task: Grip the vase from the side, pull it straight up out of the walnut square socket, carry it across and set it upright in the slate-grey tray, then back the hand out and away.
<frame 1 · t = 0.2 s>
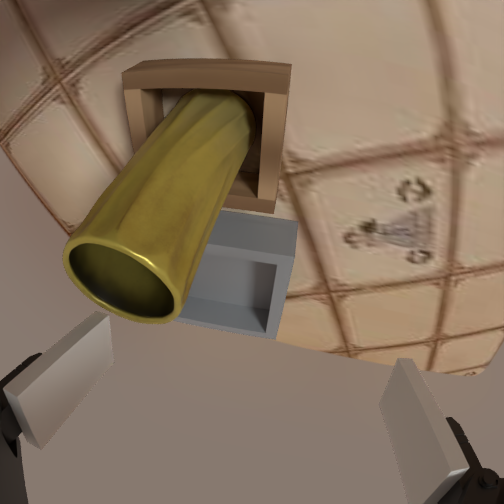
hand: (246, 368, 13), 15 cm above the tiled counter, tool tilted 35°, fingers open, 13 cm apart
socket: (213, 124, 21), on the tiled counter
vase: (214, 123, 21), resting in socket, touching gripper
tray: (219, 262, 32), on the tiled counter
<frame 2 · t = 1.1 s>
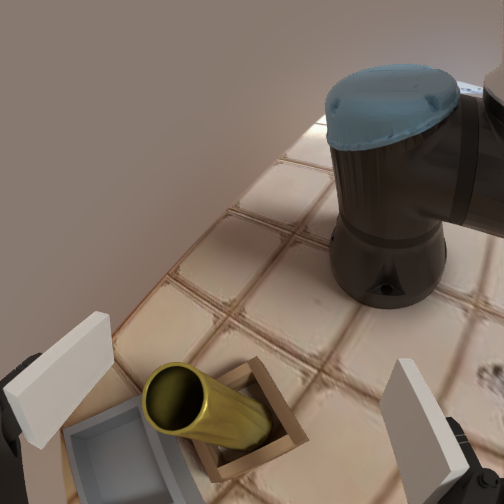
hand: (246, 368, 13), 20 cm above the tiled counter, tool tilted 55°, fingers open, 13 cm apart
socket: (244, 424, 29), on the tiled counter
vase: (244, 424, 29), resting in socket
tray: (134, 470, 27), on the tiled counter
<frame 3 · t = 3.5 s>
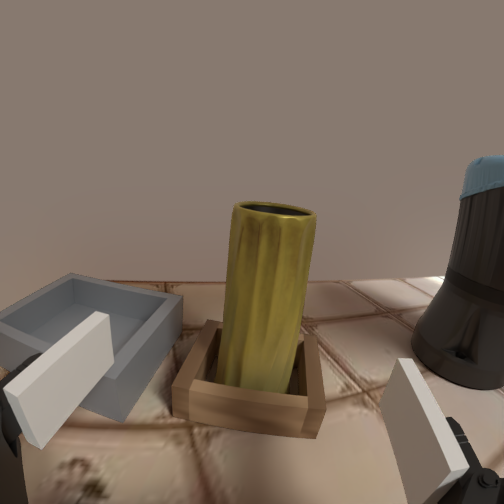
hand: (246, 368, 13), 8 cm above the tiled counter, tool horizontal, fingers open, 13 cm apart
socket: (251, 387, 23), on the tiled counter
vase: (251, 389, 23), resting in socket
tray: (89, 349, 25), on the tiled counter
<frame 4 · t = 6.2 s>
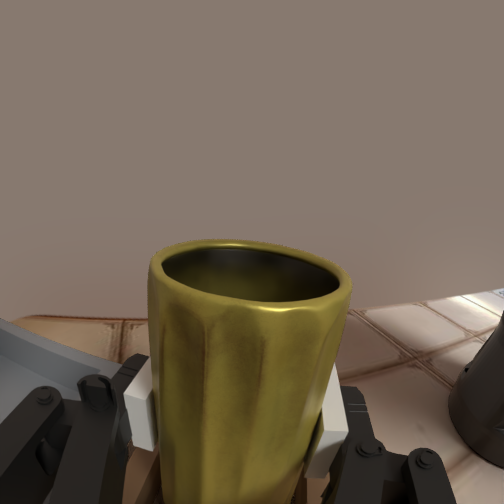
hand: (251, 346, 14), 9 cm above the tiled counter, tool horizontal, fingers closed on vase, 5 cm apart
tray: (7, 430, 13), on the tiled counter
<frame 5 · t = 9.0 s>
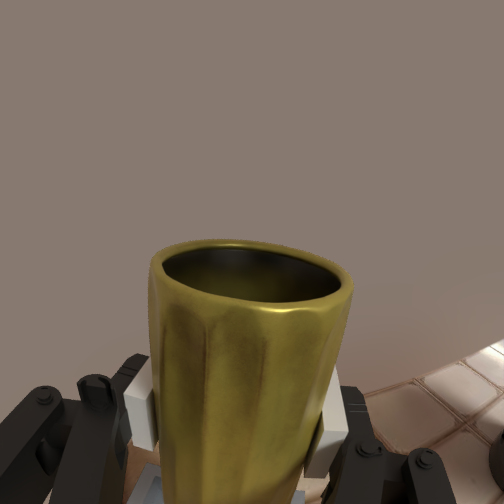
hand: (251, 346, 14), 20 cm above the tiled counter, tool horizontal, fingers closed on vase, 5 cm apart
when the fingers open (11 cm above the tiled counter, at t = 11.5 s): vase drops 1 cm, resting on tray.
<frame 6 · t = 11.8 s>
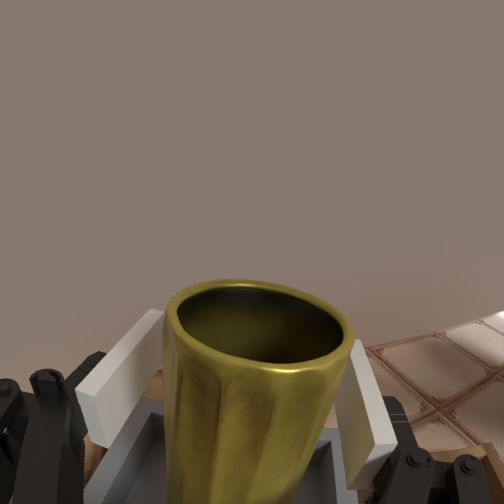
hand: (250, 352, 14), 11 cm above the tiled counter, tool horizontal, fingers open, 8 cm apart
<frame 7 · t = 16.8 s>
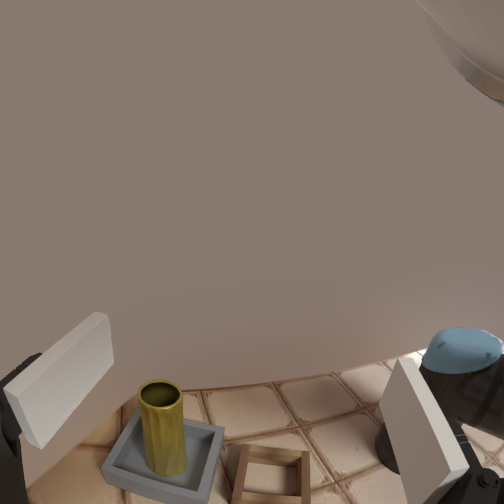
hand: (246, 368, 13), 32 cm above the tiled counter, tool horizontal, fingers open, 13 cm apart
socket: (270, 483, 35), on the tiled counter
vase: (167, 462, 35), point 1 cm above the tiled counter, touching tray
tray: (167, 464, 36), on the tiled counter
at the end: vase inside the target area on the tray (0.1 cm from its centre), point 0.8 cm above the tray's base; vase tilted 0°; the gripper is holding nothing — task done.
